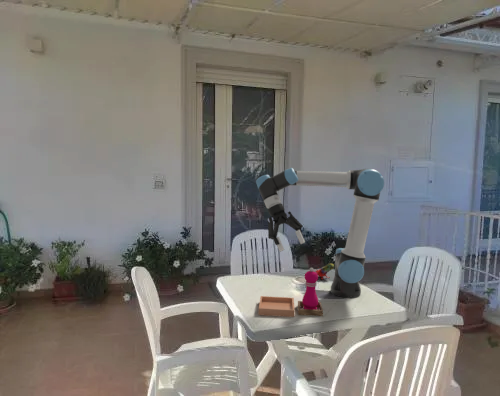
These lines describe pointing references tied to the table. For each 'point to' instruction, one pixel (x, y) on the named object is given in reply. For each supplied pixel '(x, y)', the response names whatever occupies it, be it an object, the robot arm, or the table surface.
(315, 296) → the pepper mill
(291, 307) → the terracotta tray
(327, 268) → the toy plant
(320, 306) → the small wooden tray
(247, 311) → the table surface
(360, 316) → the table surface
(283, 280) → the table surface
